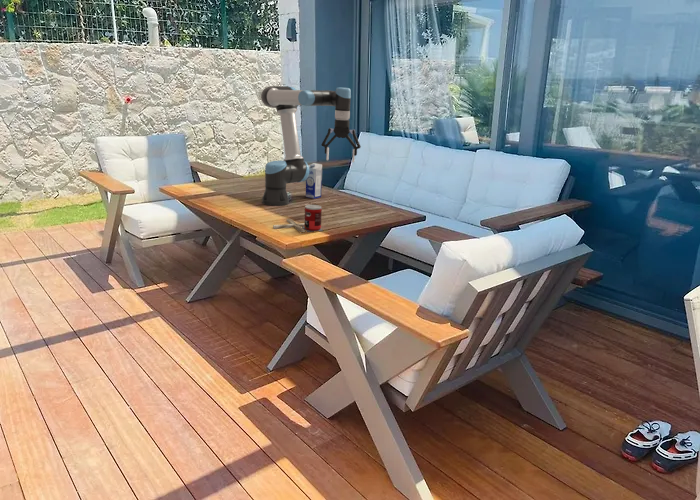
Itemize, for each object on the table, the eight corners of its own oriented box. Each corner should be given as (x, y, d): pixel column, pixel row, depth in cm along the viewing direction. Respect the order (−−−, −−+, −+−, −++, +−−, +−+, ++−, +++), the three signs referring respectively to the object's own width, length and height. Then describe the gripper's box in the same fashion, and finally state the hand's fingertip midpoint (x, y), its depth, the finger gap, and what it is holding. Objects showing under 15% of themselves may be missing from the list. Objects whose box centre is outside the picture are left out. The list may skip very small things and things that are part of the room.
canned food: (304, 226, 265) (304, 204, 261) (320, 226, 266) (321, 204, 262) (304, 230, 258) (304, 208, 254) (321, 231, 258) (322, 208, 255)
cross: (280, 234, 251) (280, 232, 251) (267, 222, 270) (267, 219, 270) (324, 231, 260) (324, 228, 259) (309, 219, 279) (309, 217, 278)
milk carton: (321, 197, 329) (322, 164, 323) (314, 198, 324) (315, 165, 318) (312, 195, 333) (313, 162, 327) (305, 196, 328) (306, 163, 321)
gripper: (316, 118, 274) (315, 160, 280) (365, 121, 271) (363, 163, 278) (319, 117, 281) (317, 158, 287) (367, 120, 278) (364, 161, 285)
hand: (340, 161), depth 283 cm, fingers open, 13 cm apart
